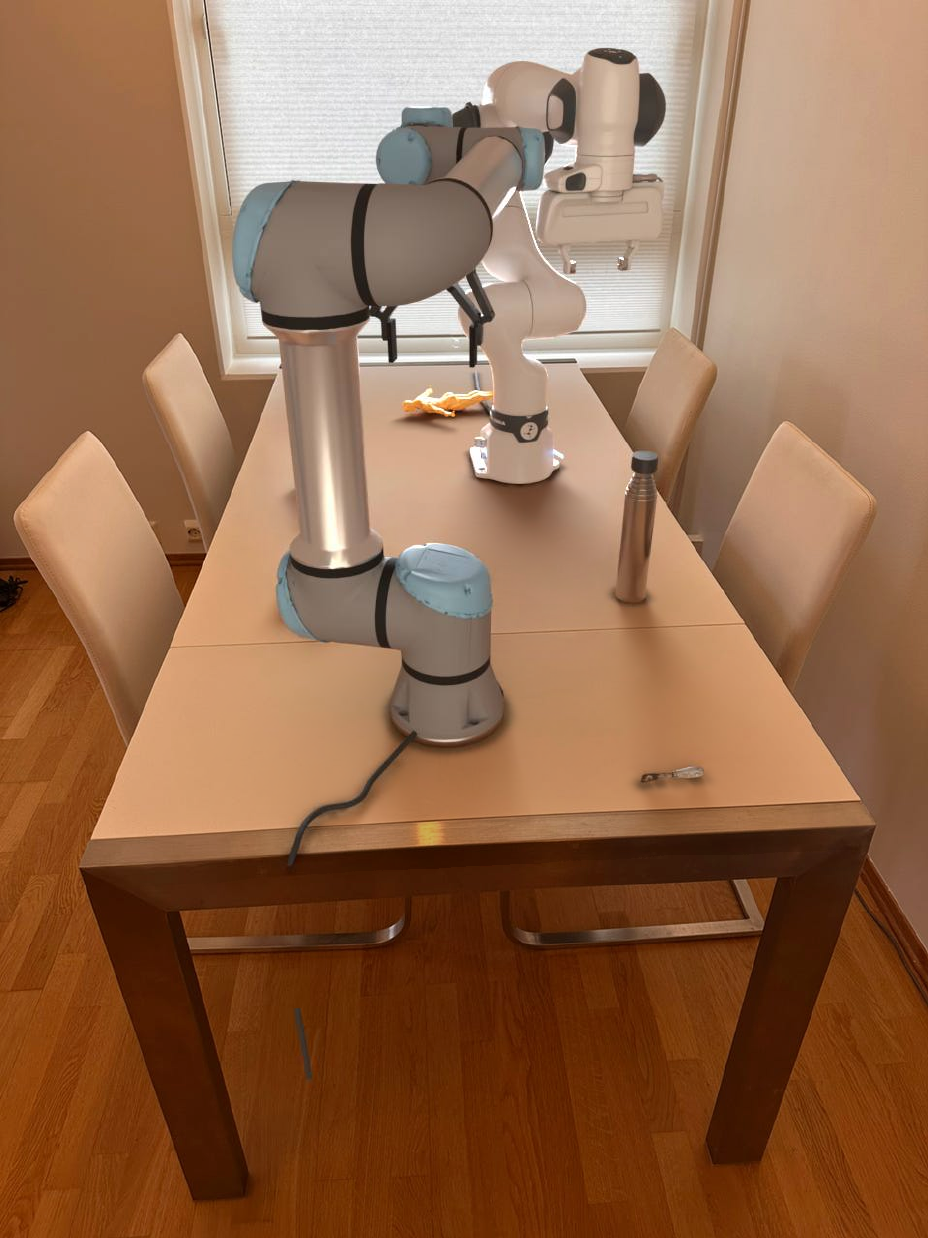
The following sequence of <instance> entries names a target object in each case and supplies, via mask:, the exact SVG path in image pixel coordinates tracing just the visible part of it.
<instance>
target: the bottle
mask: <svg viewBox="0 0 928 1238" xmlns="http://www.w3.org/2000/svg"><path fill="white" fill-rule="evenodd" d="M654 477H655V476H654V474H653V473H651V474H640V473H636V472H634V473H633V474H632V477H631V478H630V481H629V482H628V485H627V487H626V490H625V493H624V503H623V512H622V513H623V514H622V522H621V532H620V544H619V554H618V564H617V572H616V583H615V593H614V594H615V597H616V598H617V599H618V600H619V601H622V602H625V603H628V604H630V603H631V604H633V603H634V604H636V603H641V602H642V601H644V600H645V598H646V592H647V583H648V575H649V567H650V560H651V559H650V558H651V552H652V551H651V550H652V543H653V535H654V525H655V518H656V508H657V501H658V489H657V485H656V483H655V482H656V480H655V479H654Z"/></svg>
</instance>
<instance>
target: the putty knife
mask: <svg viewBox="0 0 928 1238" xmlns="http://www.w3.org/2000/svg"><path fill="white" fill-rule="evenodd" d="M704 772H705V771H704V768H702V767H701V766H697V765H695V766H688V767H683V768H679V769H675V770H673V771H671V772H653V773H652V772H651V773H650V772H649V773H644V774H642V776H641V779H640V783H642V784H645V783H648V782H653V781H659V780H665V779H668V778H673V779H674V778H675V779H693V778H694V779H695V778H700V777H702V776H703V775H704Z"/></svg>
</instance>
